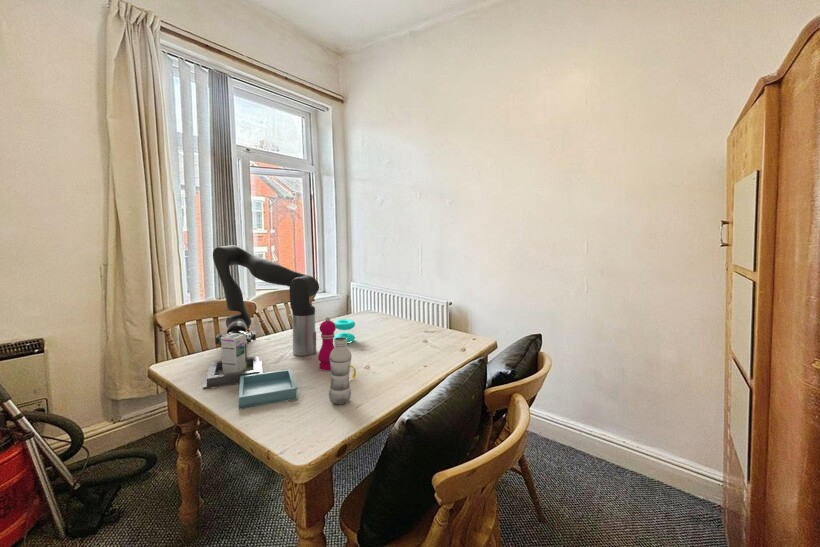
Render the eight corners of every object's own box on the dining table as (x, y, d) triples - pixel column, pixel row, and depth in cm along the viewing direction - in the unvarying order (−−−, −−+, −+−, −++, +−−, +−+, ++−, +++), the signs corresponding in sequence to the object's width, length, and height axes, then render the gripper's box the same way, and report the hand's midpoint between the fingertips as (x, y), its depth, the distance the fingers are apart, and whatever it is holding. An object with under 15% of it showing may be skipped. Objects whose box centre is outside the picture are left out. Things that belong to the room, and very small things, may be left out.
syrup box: (236, 378, 117) (235, 338, 115) (222, 376, 118) (220, 337, 116) (247, 372, 122) (246, 333, 121) (233, 370, 124) (232, 332, 122)
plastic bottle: (330, 396, 106) (330, 335, 103) (352, 396, 106) (352, 335, 104) (327, 407, 99) (327, 342, 97) (350, 406, 100) (350, 342, 98)
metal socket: (261, 362, 132) (261, 354, 132) (263, 380, 116) (263, 372, 116) (209, 368, 124) (208, 361, 124) (202, 389, 108) (202, 380, 108)
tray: (291, 378, 118) (290, 369, 118) (296, 398, 104) (296, 388, 103) (240, 386, 111) (240, 376, 111) (239, 408, 97) (238, 397, 97)
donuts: (336, 318, 165) (356, 319, 164) (336, 338, 166) (356, 338, 166) (331, 323, 155) (353, 324, 155) (331, 344, 156) (352, 345, 156)
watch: (353, 378, 120) (354, 362, 120) (356, 381, 118) (357, 365, 118) (337, 380, 117) (338, 364, 117) (339, 383, 115) (341, 366, 115)
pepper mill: (320, 372, 124) (320, 320, 122) (316, 365, 130) (316, 315, 128) (339, 369, 127) (339, 318, 125) (334, 362, 133) (334, 314, 131)
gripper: (217, 324, 138) (213, 334, 124) (255, 321, 145) (255, 331, 130) (218, 341, 139) (214, 354, 125) (255, 338, 145) (256, 349, 131)
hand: (235, 342), depth 127 cm, fingers open, 8 cm apart
